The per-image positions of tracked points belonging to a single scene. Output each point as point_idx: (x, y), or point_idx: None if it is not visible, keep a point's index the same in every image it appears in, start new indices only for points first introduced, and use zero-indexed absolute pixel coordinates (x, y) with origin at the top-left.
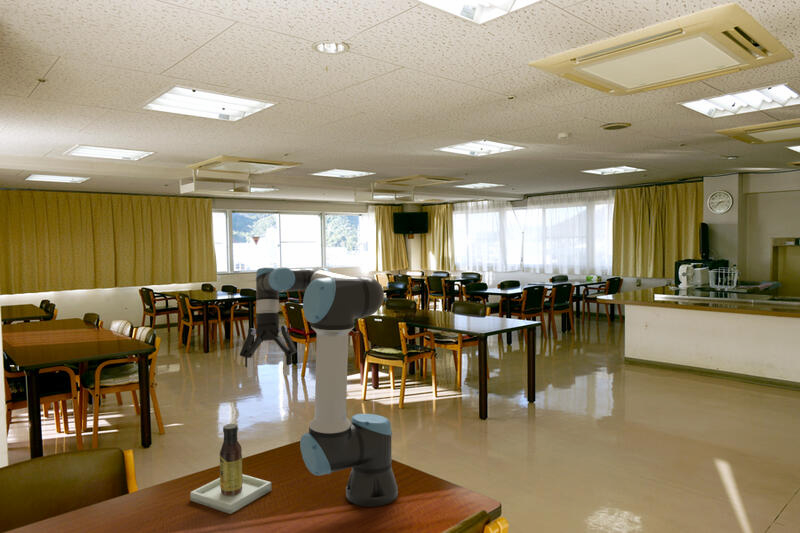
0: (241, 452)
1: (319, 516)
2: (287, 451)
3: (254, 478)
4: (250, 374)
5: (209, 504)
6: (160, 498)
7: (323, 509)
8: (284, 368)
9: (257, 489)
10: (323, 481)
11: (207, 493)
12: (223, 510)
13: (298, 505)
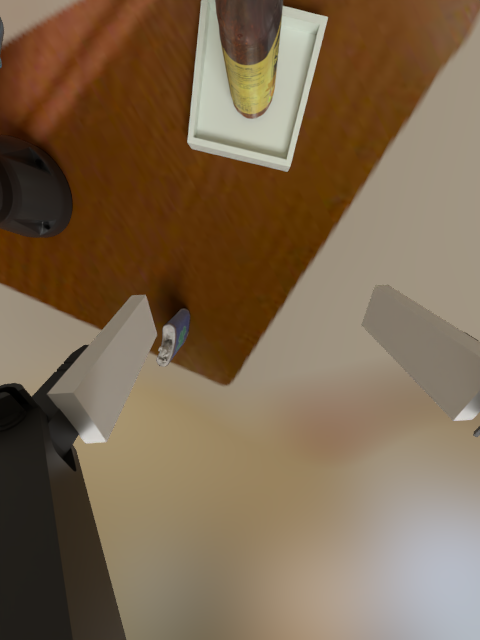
0: (224, 41)
1: (53, 72)
2: (252, 315)
3: (228, 148)
4: (380, 305)
5: None
6: (396, 17)
7: (64, 105)
8: (121, 316)
9: (193, 95)
10: (130, 217)
11: (297, 64)
12: None
13: (111, 103)
